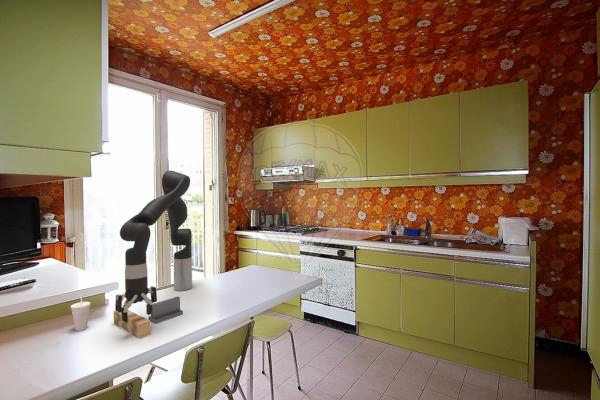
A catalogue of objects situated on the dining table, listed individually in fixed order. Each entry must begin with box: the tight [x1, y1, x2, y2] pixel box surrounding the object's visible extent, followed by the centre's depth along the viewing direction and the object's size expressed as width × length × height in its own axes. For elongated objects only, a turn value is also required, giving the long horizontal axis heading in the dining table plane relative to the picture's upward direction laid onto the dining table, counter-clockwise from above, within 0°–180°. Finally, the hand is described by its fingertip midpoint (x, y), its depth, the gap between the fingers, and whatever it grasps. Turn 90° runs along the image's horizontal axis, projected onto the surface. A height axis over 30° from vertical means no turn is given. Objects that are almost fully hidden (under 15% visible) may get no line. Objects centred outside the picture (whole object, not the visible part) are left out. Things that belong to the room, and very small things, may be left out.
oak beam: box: [113, 309, 152, 340], centre depth 119 cm, size 22×4×6 cm, turn 53°
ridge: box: [147, 296, 184, 325], centre depth 130 cm, size 6×12×7 cm, turn 142°
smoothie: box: [70, 293, 91, 332], centre depth 120 cm, size 6×6×14 cm
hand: (137, 317), depth 116 cm, fingers open, 8 cm apart
